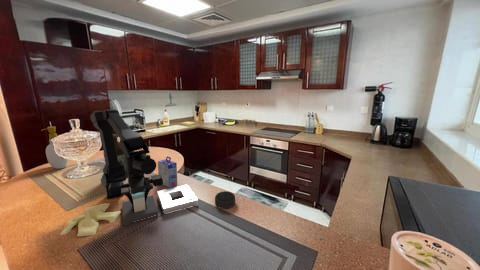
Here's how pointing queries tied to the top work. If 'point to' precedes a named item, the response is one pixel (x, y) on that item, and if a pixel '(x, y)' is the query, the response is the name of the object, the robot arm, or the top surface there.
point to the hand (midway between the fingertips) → (139, 203)
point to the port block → (184, 202)
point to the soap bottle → (50, 153)
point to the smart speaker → (225, 199)
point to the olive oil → (120, 154)
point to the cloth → (91, 220)
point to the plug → (139, 202)
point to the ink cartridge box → (168, 172)
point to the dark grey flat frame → (131, 217)
